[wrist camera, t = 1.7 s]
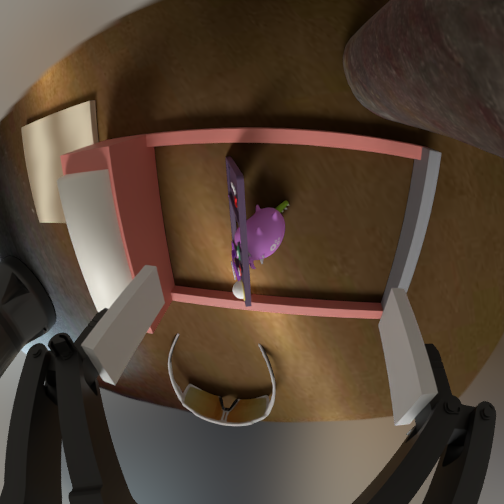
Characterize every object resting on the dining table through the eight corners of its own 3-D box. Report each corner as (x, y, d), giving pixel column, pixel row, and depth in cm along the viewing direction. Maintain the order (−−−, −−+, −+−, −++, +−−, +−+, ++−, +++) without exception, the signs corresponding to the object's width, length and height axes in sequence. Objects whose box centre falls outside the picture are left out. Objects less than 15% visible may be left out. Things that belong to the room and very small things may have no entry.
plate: (43, 219, 26) (39, 222, 26) (26, 126, 20) (21, 127, 19) (112, 220, 24) (107, 223, 24) (95, 100, 18) (89, 100, 18)
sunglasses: (187, 392, 39) (177, 415, 35) (169, 319, 34) (152, 343, 29) (275, 405, 37) (271, 431, 32) (280, 332, 31) (276, 361, 27)
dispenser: (136, 287, 28) (98, 338, 21) (106, 139, 20) (39, 164, 13) (387, 310, 24) (404, 377, 18) (427, 146, 16) (486, 175, 9)
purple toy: (222, 177, 14) (235, 309, 18) (316, 170, 15) (308, 298, 19) (215, 157, 20) (225, 259, 24) (282, 152, 20) (283, 252, 25)
